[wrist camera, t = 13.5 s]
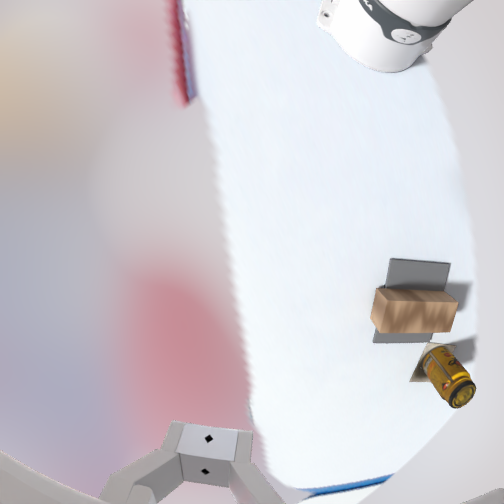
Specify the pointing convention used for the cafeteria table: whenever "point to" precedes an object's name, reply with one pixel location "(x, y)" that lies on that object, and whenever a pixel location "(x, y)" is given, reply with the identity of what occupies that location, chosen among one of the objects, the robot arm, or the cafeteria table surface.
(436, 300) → the block
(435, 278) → the mat
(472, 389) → the condiment
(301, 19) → the cafeteria table surface
